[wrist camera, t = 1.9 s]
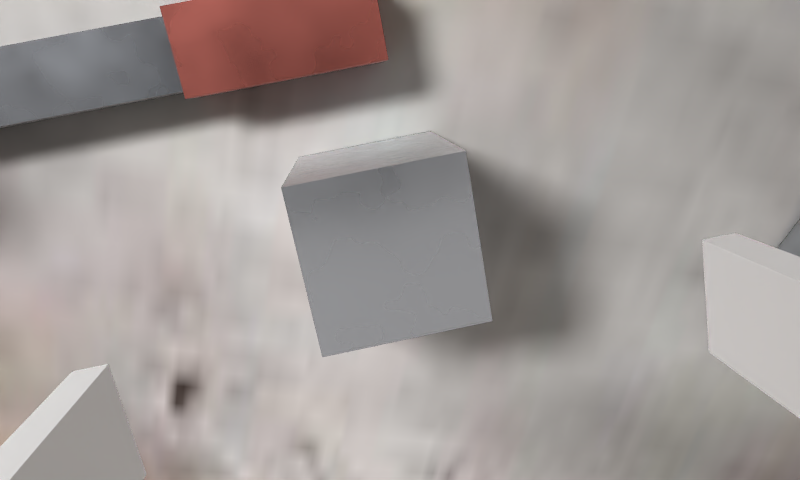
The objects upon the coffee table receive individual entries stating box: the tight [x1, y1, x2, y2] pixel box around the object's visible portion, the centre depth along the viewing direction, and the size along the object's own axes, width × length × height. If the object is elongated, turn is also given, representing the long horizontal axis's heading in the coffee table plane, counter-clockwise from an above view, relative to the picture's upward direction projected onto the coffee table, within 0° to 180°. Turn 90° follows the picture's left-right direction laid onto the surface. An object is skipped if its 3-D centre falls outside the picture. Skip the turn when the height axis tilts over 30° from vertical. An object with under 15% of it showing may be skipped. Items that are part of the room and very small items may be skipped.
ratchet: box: [0, 0, 388, 128], centre depth 22 cm, size 6×27×8 cm, turn 101°
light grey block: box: [281, 131, 492, 357], centre depth 24 cm, size 6×6×8 cm
